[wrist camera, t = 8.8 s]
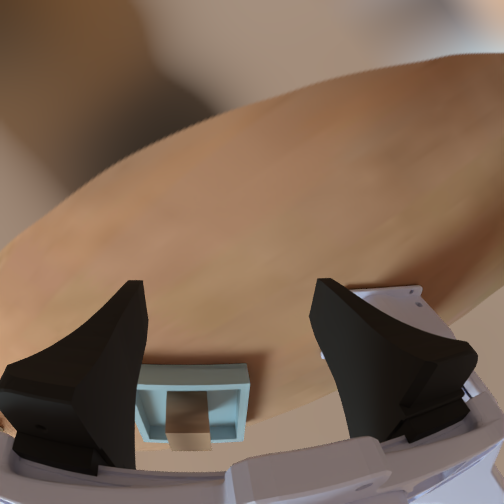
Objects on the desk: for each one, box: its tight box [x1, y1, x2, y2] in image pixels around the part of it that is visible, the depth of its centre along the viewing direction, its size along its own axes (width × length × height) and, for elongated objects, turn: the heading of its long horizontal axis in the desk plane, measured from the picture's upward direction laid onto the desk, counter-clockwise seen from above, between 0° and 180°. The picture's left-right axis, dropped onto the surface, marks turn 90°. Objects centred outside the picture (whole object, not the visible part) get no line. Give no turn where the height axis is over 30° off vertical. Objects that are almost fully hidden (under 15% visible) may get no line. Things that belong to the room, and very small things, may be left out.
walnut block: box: [165, 391, 212, 451], centre depth 26 cm, size 4×4×5 cm
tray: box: [135, 363, 250, 443], centre depth 28 cm, size 12×12×2 cm
